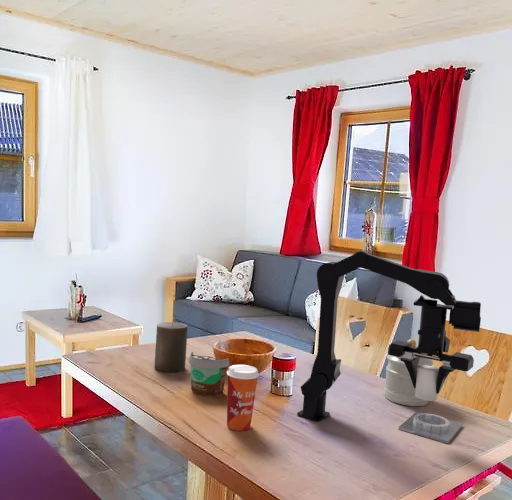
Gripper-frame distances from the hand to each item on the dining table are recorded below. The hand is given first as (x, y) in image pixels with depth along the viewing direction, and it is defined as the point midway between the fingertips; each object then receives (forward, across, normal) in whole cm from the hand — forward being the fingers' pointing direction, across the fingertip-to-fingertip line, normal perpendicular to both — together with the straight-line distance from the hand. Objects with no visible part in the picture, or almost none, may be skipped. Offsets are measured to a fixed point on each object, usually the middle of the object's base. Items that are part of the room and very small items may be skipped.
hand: (426, 390), depth 128 cm
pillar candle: (+12, +79, +5) cm, 80 cm away
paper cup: (+12, +36, +26) cm, 46 cm away
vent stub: (+2, 0, 0) cm, 2 cm away
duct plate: (+12, 0, -8) cm, 14 cm away
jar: (+12, +13, -25) cm, 30 cm away
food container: (+12, +57, +14) cm, 60 cm away
